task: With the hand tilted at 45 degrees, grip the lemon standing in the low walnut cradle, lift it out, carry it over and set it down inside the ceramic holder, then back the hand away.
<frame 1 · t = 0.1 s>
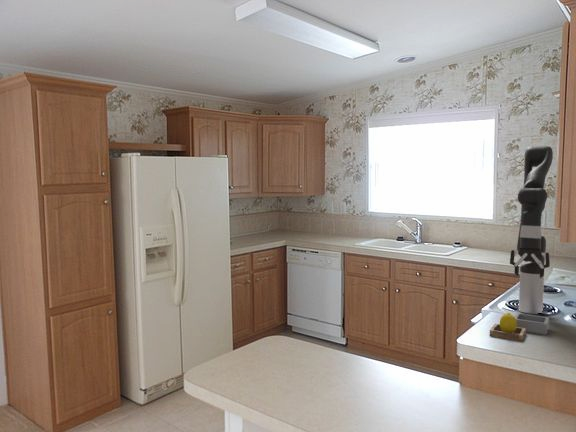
hand: (528, 276, 186), 17 cm above the countertop, tool pointing down, fingers open, 8 cm apart
cradle: (507, 334, 164), on the countertop
holder: (530, 328, 173), on the countertop
lemon: (507, 335, 164), resting in cradle
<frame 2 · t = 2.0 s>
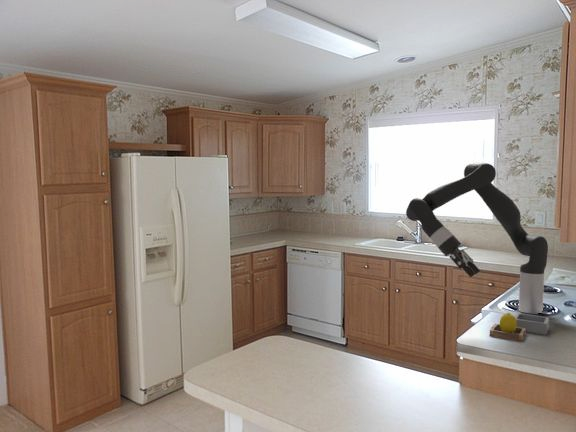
hand: (475, 274, 170), 21 cm above the countertop, tool tilted 45°, fingers open, 8 cm apart
nothing on the countertop moved.
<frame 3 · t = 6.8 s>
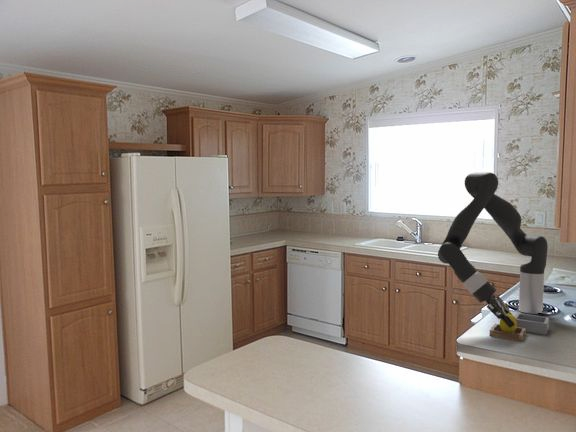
hand: (513, 323, 163), 4 cm above the countertop, tool tilted 45°, fingers closed on lemon, 5 cm apart
lemon: (507, 335, 164), resting in cradle, touching gripper
when the fingers open (7 cm above the countertop, at t = 12.3 s): lemon drops 1 cm, resting on holder.
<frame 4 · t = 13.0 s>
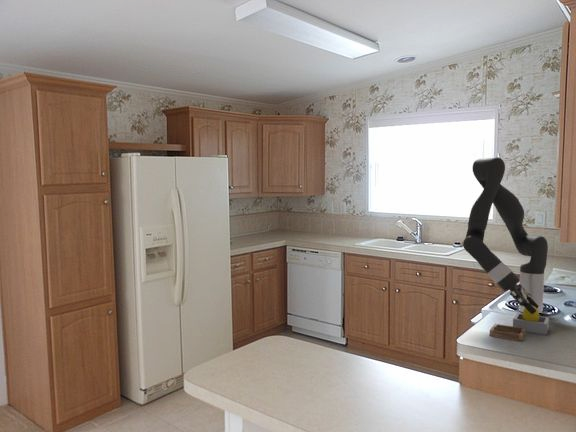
hand: (535, 310, 171), 7 cm above the countertop, tool tilted 45°, fingers open, 8 cm apart
lemon: (530, 326, 172), point 1 cm above the countertop, touching holder
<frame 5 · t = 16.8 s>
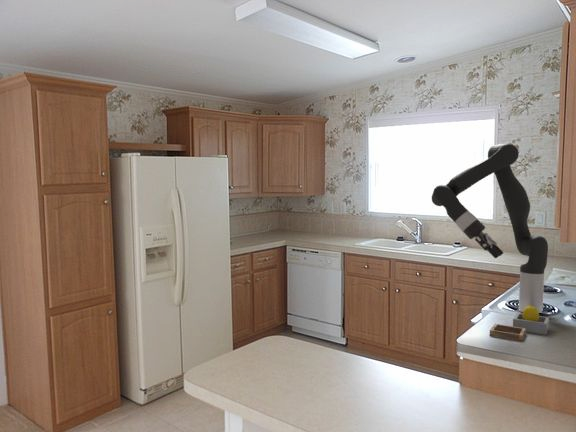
hand: (499, 255, 178), 27 cm above the countertop, tool tilted 45°, fingers open, 8 cm apart
nothing on the countertop moved.
at the end: lemon 0.3 cm off-centre on the holder, point 0.8 cm above the holder's base; the gripper is holding nothing; lemon moved 15.0 cm from its start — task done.
